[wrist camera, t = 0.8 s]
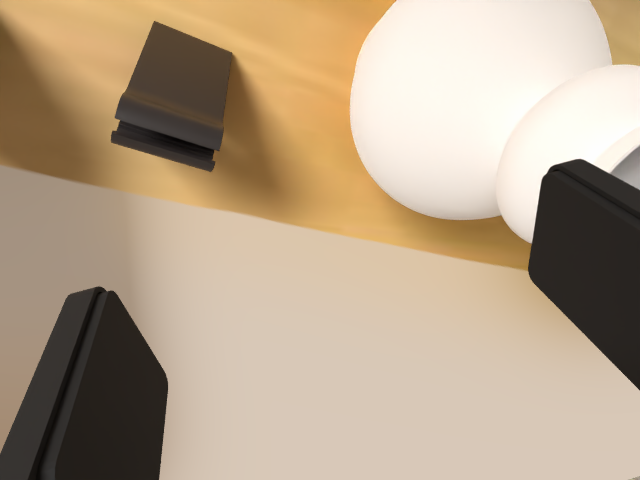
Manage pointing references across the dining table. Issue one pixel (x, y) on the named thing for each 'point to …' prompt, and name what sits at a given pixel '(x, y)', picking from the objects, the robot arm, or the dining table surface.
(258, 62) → the dining table surface
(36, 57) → the dining table surface
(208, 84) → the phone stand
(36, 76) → the dining table surface
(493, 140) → the decorative vase
